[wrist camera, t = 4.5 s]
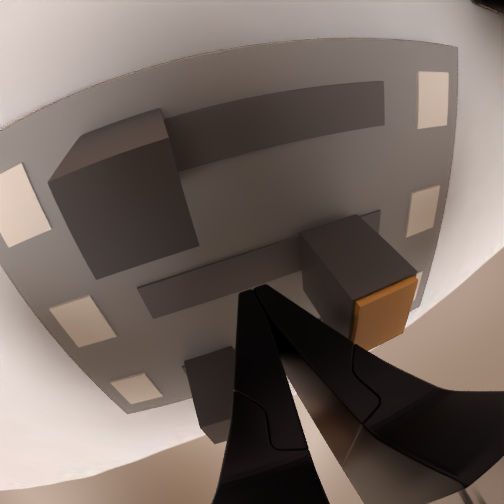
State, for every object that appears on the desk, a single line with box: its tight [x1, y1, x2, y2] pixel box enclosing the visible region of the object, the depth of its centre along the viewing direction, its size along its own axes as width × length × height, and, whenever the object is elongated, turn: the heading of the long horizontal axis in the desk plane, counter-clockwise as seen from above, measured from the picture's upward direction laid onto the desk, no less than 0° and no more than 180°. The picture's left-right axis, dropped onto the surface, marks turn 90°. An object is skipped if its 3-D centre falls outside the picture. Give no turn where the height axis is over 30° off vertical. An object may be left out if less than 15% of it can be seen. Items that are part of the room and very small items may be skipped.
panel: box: [0, 38, 458, 444], centre depth 10 cm, size 16×13×4 cm
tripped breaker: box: [299, 214, 418, 351], centre depth 9 cm, size 2×2×3 cm
